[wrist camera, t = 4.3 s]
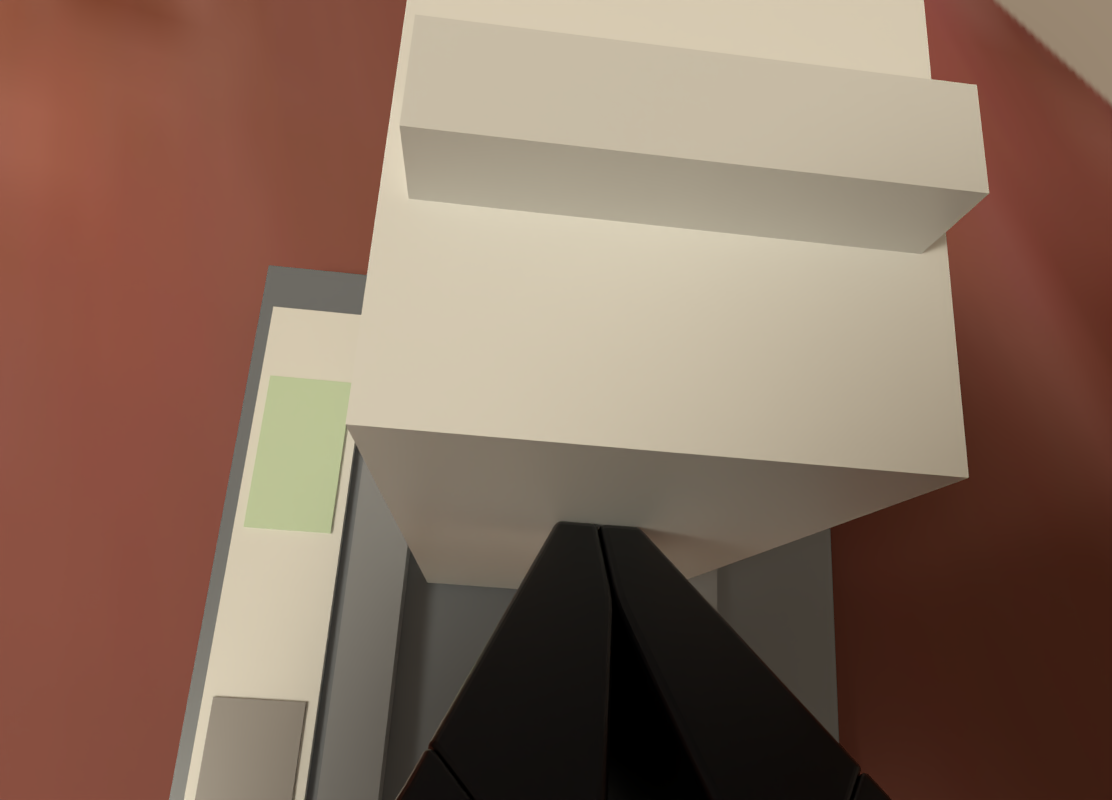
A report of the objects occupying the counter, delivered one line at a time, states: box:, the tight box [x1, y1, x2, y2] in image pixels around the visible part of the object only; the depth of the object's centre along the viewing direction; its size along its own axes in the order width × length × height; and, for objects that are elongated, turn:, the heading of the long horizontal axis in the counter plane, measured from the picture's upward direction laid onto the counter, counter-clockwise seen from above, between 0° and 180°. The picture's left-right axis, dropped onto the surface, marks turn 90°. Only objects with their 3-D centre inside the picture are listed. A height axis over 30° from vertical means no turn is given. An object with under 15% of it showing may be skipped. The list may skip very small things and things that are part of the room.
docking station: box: [169, 265, 839, 800], centre depth 16 cm, size 14×12×2 cm
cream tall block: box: [345, 0, 989, 589], centre depth 11 cm, size 4×4×12 cm
